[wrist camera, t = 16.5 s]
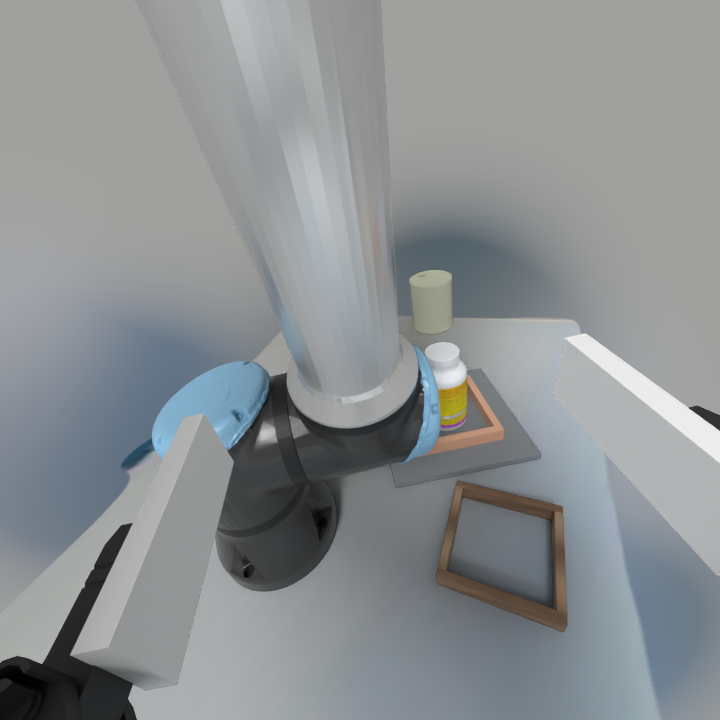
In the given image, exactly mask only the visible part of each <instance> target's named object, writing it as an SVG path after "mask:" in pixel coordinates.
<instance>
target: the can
mask: <svg viewBox="0 0 720 720" xmlns="http://www.w3.org/2000/svg"><path fill="white" fill-rule="evenodd" d="M409 282H410V289H411V298H412V308H413V320H414V323H413V326H414V328H415V330H417V331H418V332H420V333H424V334H437V333H442V332H445V331H447V330H448V329H450V328H451V327H452V325H453V319H452V276H451V274H450V273H448V272H446V271H441V270H431V271H424V272H421V273H418V274H416V275H414V276H412V277H411V278H410V280H409Z"/></svg>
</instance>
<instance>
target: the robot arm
mask: <svg viewBox="0 0 720 720" xmlns="http://www.w3.org/2000/svg"><path fill="white" fill-rule="evenodd" d="M136 2H137V5H138V7H139V9H140V11H141V13H142V16H143V18H144V20H145V23H146V25H147V27H148V30H149V32H150V34H151V36H152V39H153V41H154V43H155V46H156V48H157V50H158V52H159V55H160V57H161V59H162V61H163V64H164V66H165V68H166V70H167V73H168V75H169V77H170V80H171V82H172V84H173V86H174V89H175V91H176V93H177V95H178V98H179V100H180V102H181V104H182V107H183V109H184V111H185V113H186V116H187V118H188V120H189V123H190V125H191V127H192V129H193V132H194V134H195V136H196V138H197V140H198V143H199V145H200V148H201V150H202V152H203V154H204V157H205V159H206V161H207V164H208V166H209V168H210V170H211V173H212V175H213V177H214V179H215V182H216V184H217V186H218V189H219V191H220V193H221V195H222V197H223V200H224V202H225V204H226V207H227V209H228V211H229V213H230V216H231V218H232V220H233V222H234V225H235V227H236V229H237V232H238V234H239V236H240V238H241V241H242V243H243V245H244V247H245V250H246V252H247V254H248V257H249V259H250V261H251V263H252V266H253V268H254V270H255V273H256V275H257V277H258V279H259V281H260V284H261V286H262V288H263V290H264V293H265V295H266V297H267V300H268V302H269V304H270V307H271V309H272V311H273V313H274V316H275V318H276V320H277V323H278V325H279V327H280V329H281V332H282V334H283V336H284V338H285V341H286V343H287V345H288V347H289V350H290V352H291V354H292V359H291V361H290V363H289V367H288V372H287V373H285V374H281V375H276V376H271V377H270V376H269V374H268V371H266V370H265V369H264V368H263V367H262V366H261V365H259V364H258V363H255V362H251V363H250V362H249V361H237V362H231V363H227V364H224V365H221V366H219V367H216V368H214V369H212V370H209V371H207V372H205V373H204V374H202V375H200V376H198V377H197V378H195V379H194V380H193V381H191V382H189V383H188V384H187V385H186V386H184V387H183V388H182V389H181V390H179V391H178V392H177V393H176V394H175V395H174V396H173V397H172V398H171V399H170V400H169V401H168V402H167V404H166V405H165V406H164V407H163V409H162V410H161V412H160V413H159V415H158V417H157V419H156V422H155V424H154V427H153V431H152V442H153V446H154V449H155V450H156V452H157V453H158V455H159V456H160V458H161V460H162V463H161V465H160V468H159V470H158V472H157V474H156V476H155V478H154V480H153V482H152V484H151V486H150V488H149V491H148V493H147V495H146V497H145V499H144V501H143V503H142V505H141V507H140V509H139V512H138V514H137V516H136V518H135V520H134V522H133V523H130V524H126V525H121V526H120V528H119V529H118V530H117V531H116V532H115V534H114V535H113V536H112V537H111V538H110V539H109V541H108V542H107V543H106V544H105V546H104V548H103V550H102V552H101V553H100V555H99V557H98V559H97V561H96V563H95V565H94V570H92V571H91V573H90V575H89V577H88V578H87V580H86V582H85V587H84V588H82V590H81V592H80V594H79V596H78V598H77V600H76V602H75V603H74V605H73V607H72V609H71V611H70V613H69V615H68V617H67V619H66V621H65V623H64V625H63V627H62V628H61V630H60V632H59V634H58V636H57V638H56V640H55V642H54V644H53V646H52V648H51V650H50V652H49V653H48V655H47V657H46V659H45V661H44V662H43V664H40V663H37V662H35V661H33V660H30V659H28V658H24V657H20V656H16V657H13V658H10V659H7V660H4V661H2V662H1V663H0V720H137V719H136V715H135V712H134V709H133V706H132V705H131V703H130V702H129V700H128V697H129V694H130V691H131V688H132V685H135V686H137V687H139V688H142V689H144V690H146V691H147V690H152V689H157V688H162V687H167V686H172V685H177V683H178V679H179V675H180V671H181V668H182V664H183V660H184V656H185V652H186V648H187V644H188V640H189V636H190V632H191V628H192V624H193V621H194V617H195V613H196V609H197V605H198V601H199V597H200V593H201V589H202V585H203V581H204V577H205V574H206V570H207V566H208V562H209V558H210V554H211V550H212V546H213V542H214V538H215V539H216V546H217V552H218V556H219V559H220V561H221V563H222V565H223V567H224V568H225V570H226V571H227V572H228V573H229V574H230V576H231V577H232V578H233V579H234V580H235V581H236V582H237V583H238V584H240V585H241V586H243V587H245V588H247V589H250V590H254V591H274V590H278V589H282V588H285V587H287V586H290V585H292V584H294V583H295V582H297V581H299V580H300V579H302V578H303V577H305V576H306V575H307V574H308V573H310V572H311V571H312V570H313V569H314V568H315V567H316V566H317V565H318V563H319V562H320V561H321V560H322V558H323V557H324V556H325V554H326V552H327V551H328V549H329V547H330V545H331V543H332V541H333V538H334V535H335V531H336V526H337V508H336V504H335V501H334V498H333V495H332V493H331V490H330V488H329V487H328V485H327V484H326V482H325V481H326V480H330V479H334V478H338V477H342V476H346V475H350V474H354V473H358V472H362V471H366V470H370V469H375V468H379V467H383V466H387V465H391V464H403V463H405V462H408V461H410V460H411V459H412V458H416V457H419V456H423V455H425V454H427V453H428V452H430V451H431V450H432V449H433V447H434V446H435V444H436V442H437V440H438V437H439V432H440V424H441V415H440V411H439V408H438V406H437V405H438V403H439V395H438V389H437V384H436V381H435V377H434V374H433V371H432V368H431V366H430V363H429V361H428V359H427V357H426V356H425V354H424V353H423V351H422V350H421V349H420V348H418V347H417V346H414V345H411V344H410V342H409V341H408V340H407V339H406V338H405V336H403V335H402V334H401V333H400V332H399V327H398V309H397V290H396V272H395V254H394V234H393V216H392V197H391V178H390V160H389V140H388V122H387V103H386V84H385V66H384V47H383V30H382V9H381V0H136ZM553 397H554V398H555V399H556V400H557V401H558V402H559V403H560V405H561V406H562V407H563V408H564V409H565V410H566V411H567V412H568V413H569V414H570V415H571V417H572V418H573V419H574V420H575V421H576V422H577V423H578V424H579V425H580V426H581V427H582V429H583V430H584V431H585V432H586V433H587V434H588V435H589V436H590V437H591V438H592V439H593V441H594V442H595V443H596V444H597V445H598V446H599V447H600V448H601V449H602V450H603V452H604V453H605V454H606V455H607V456H608V457H609V458H610V459H611V460H612V461H613V462H614V463H615V465H616V466H617V467H618V468H619V469H620V470H621V471H622V472H623V473H624V474H625V476H626V477H627V478H628V479H629V480H630V481H631V482H632V483H633V484H634V485H635V486H636V488H637V489H638V490H639V491H640V492H641V493H642V494H643V495H644V496H645V497H646V499H647V500H648V501H649V502H650V503H651V504H652V505H653V506H654V507H655V508H656V509H657V511H658V512H659V513H660V514H661V515H662V516H663V517H664V518H665V519H666V520H667V521H668V522H669V524H670V525H671V526H672V527H673V528H674V529H675V530H676V531H677V532H678V534H680V536H681V537H682V538H683V539H684V540H685V541H686V542H687V543H688V544H689V546H690V547H691V548H692V549H693V550H694V551H695V552H696V553H697V554H698V555H699V556H700V558H701V559H702V560H703V561H704V562H705V563H706V564H707V565H708V566H709V567H710V568H711V570H713V572H714V573H715V574H716V575H717V576H719V575H720V415H718V414H715V413H713V412H711V411H709V410H706V409H704V408H702V407H699V406H694V407H690V408H688V407H686V406H685V405H683V404H682V403H681V402H679V401H678V400H677V399H675V398H674V397H672V396H671V395H670V394H668V393H667V392H666V391H664V390H663V389H661V388H660V387H659V386H657V385H656V384H655V383H653V382H652V381H650V380H649V379H648V378H646V377H645V376H644V375H642V374H641V373H639V372H638V371H637V370H635V369H634V368H632V367H631V366H630V365H628V364H627V363H626V362H624V361H623V360H621V359H620V358H619V357H617V356H616V355H615V354H613V353H612V352H610V351H609V350H608V349H606V348H605V347H603V346H602V345H601V344H599V343H598V342H597V341H595V340H594V339H593V338H591V337H590V336H588V335H587V334H586V333H585V334H581V335H576V336H571V337H566V338H564V342H563V347H562V352H561V357H560V362H559V367H558V372H557V377H556V382H555V387H554V392H553Z"/></svg>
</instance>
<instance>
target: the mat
mask: <svg viewBox="0 0 720 720" xmlns="http://www.w3.org/2000/svg"><path fill="white" fill-rule="evenodd" d="M467 375H470V377H471V379H472V380H473V382H474V383H475V385H476V386H477V388H478V389H479V391H480V393H481V394H482V396H483V397H484V399H485V400H486V402H487V403H488V405H489V407H490V408H491V410H492V411H493V413H494V414H495V416H496V417H497V419H498V421H499V422H500V424H501V425H502V427H503V428H504V439H503V440H499V441H494V442H489V443H484V444H479V445H474V446H469V447H465V448H460V449H455V450H450V451H445V452H440V453H435V454H430V455H426V456H421V457H416V458H412V459H411V460H410V461H408V462H405V463H403V464H391V469H392V473H393V478H394V482H395V486H396V488H399V487H404V486H409V485H414V484H419V483H423V482H428V481H433V480H438V479H443V478H448V477H453V476H458V475H463V474H467V473H472V472H477V471H482V470H487V469H492V468H497V467H502V466H507V465H511V464H516V463H521V462H526V461H531V460H536V459H540V457H541V453H540V451H539V450H538V449H537V447H536V446H535V444H534V443H533V442H532V440H531V439H530V437H529V436H528V434H527V433H526V432H525V430H524V429H523V427H522V426H521V425H520V423H519V422H518V420H517V419H516V418H515V416H514V415H513V413H512V412H511V411H510V409H509V408H508V406H507V405H506V403H505V402H504V401H503V399H502V398H501V396H500V395H499V394H498V392H497V391H496V389H495V388H494V387H493V385H492V384H491V382H490V381H489V380H488V378H487V377H486V375H485V374H484V372H483V371H482V370H481V368H480V369H475V370H470V371H467ZM483 428H488V426H487V424H486V422H485V421H484V419H483V417H482V415H481V414H480V412H479V410H478V409H477V407H476V405H475V404H474V402H473V400H472V399H471V397H470V395H469V394H468V392H467V419H466V422H465V423H464V425H463V426H461V427H460V428H458V429H456V430H453V431H440V432H439V437H444V436H449V435H454V434H459V433H463V432H468V431H473V430H478V429H483ZM439 437H438V438H439Z"/></svg>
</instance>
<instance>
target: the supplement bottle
mask: <svg viewBox="0 0 720 720" xmlns="http://www.w3.org/2000/svg"><path fill="white" fill-rule="evenodd" d="M425 356H426V357H427V359H428V361H429V363H430V366H431V368H432V371H433V374H434V377H435V381H436V384H437V389H438V395H439V403H438V405H437V406H438V408H439V411H440V415H441V424H440V431H453V430H456V429H458V428H460V427H461V426H463V425H464V423H465V422H466V419H467V368H466V366H465V364H464V363H463V362H462V361H461V360H459V359H460V351H459V348H458V347H457V346H456V345H454V344H452V343H449V342H438V343H434V344H431V345H430V346H428V347H427V348H426V350H425Z"/></svg>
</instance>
